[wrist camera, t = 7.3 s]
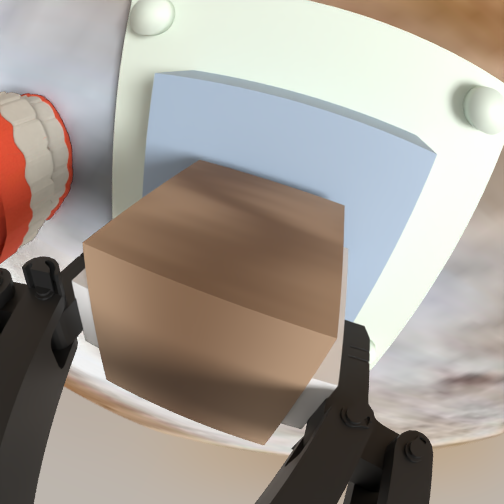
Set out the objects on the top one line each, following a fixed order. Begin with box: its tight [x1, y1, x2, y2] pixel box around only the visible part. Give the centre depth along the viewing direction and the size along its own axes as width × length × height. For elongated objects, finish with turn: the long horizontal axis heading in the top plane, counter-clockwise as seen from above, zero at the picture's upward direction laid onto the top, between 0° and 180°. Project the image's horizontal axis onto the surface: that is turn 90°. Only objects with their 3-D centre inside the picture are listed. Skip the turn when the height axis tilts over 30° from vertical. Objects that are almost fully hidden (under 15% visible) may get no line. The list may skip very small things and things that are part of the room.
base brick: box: [142, 70, 437, 322], centre depth 16 cm, size 12×12×4 cm
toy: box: [0, 91, 73, 264], centre depth 18 cm, size 12×10×8 cm
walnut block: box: [83, 160, 345, 445], centre depth 11 cm, size 6×6×7 cm
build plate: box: [112, 0, 504, 370], centre depth 18 cm, size 22×22×2 cm
